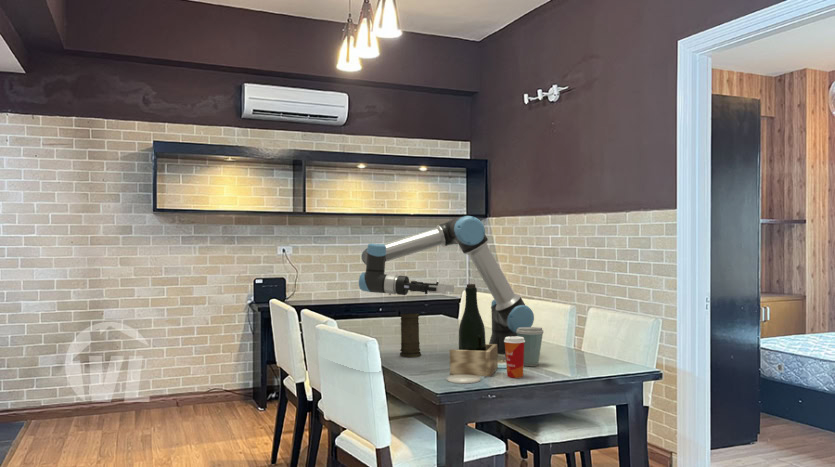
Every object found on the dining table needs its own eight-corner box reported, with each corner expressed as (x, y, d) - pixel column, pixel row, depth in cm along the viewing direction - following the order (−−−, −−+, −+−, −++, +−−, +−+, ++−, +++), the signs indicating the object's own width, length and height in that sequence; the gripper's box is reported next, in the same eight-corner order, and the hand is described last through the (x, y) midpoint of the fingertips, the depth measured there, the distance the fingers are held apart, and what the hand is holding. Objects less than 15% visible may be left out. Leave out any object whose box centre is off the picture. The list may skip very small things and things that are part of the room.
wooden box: (450, 374, 237) (449, 350, 237) (459, 365, 252) (459, 343, 252) (490, 376, 233) (489, 351, 233) (497, 367, 248) (497, 344, 248)
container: (418, 357, 270) (417, 315, 270) (398, 357, 272) (397, 315, 272) (422, 353, 279) (422, 312, 279) (402, 353, 281) (402, 312, 281)
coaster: (478, 375, 235) (478, 373, 235) (483, 383, 223) (483, 381, 223) (445, 376, 234) (445, 374, 234) (448, 384, 222) (448, 382, 222)
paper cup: (502, 374, 236) (501, 336, 236) (522, 373, 237) (522, 335, 237) (507, 379, 228) (506, 339, 228) (528, 378, 229) (527, 339, 229)
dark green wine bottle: (482, 367, 249) (480, 282, 249) (489, 373, 238) (488, 284, 238) (455, 368, 247) (454, 283, 247) (462, 374, 237) (460, 285, 237)
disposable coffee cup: (511, 363, 255) (510, 325, 255) (534, 361, 259) (534, 324, 259) (525, 368, 245) (524, 329, 245) (549, 366, 249) (548, 327, 249)
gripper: (406, 292, 264) (456, 297, 258) (386, 296, 241) (441, 301, 235) (407, 274, 265) (457, 278, 259) (387, 276, 241) (442, 280, 235)
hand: (449, 289), depth 247 cm, fingers open, 13 cm apart
